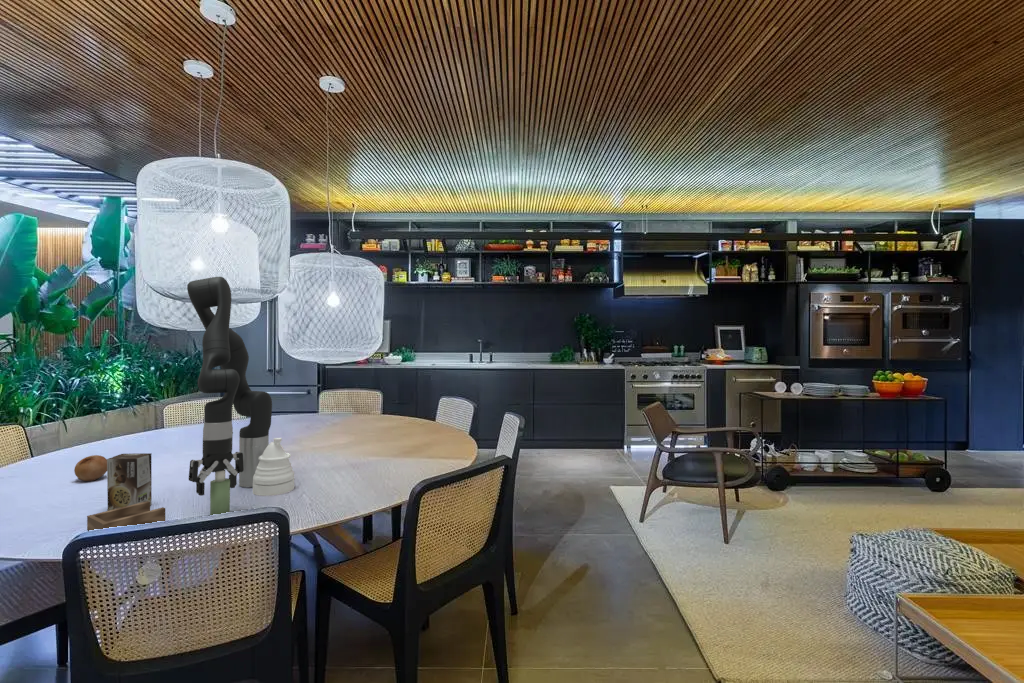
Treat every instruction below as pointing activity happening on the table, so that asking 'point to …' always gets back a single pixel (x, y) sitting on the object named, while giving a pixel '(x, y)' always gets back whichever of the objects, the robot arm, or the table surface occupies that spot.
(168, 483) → the table surface
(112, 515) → the u rest
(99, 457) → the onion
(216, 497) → the bottle
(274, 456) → the honey pot
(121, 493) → the coffee box
